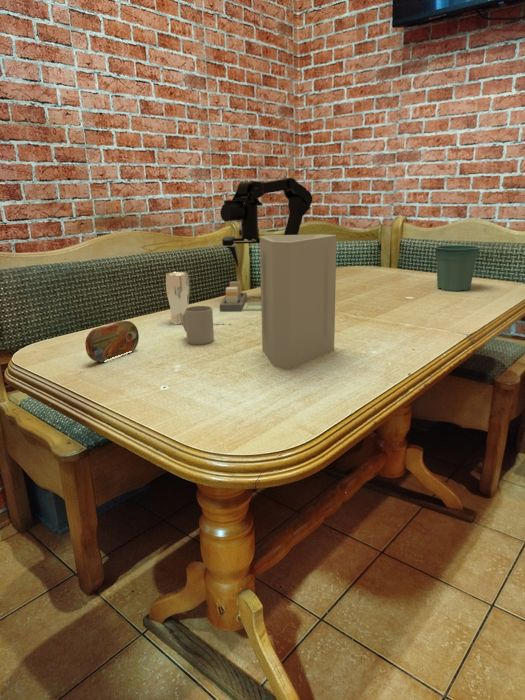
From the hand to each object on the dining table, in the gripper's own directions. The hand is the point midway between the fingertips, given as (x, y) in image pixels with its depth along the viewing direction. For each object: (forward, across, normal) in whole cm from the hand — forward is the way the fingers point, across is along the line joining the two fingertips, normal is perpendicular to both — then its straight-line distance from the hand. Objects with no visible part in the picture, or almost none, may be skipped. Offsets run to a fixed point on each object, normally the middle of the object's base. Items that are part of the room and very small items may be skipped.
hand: (250, 265), depth 178 cm
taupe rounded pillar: (+13, -14, +60) cm, 63 cm away
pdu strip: (+13, +6, +8) cm, 16 cm away
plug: (+12, +5, +13) cm, 19 cm away
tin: (+13, +29, +62) cm, 70 cm away
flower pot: (+13, -77, -21) cm, 81 cm away
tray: (+13, -3, +13) cm, 19 cm away
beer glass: (+13, +20, +28) cm, 37 cm away
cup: (+13, +11, +48) cm, 51 cm away
